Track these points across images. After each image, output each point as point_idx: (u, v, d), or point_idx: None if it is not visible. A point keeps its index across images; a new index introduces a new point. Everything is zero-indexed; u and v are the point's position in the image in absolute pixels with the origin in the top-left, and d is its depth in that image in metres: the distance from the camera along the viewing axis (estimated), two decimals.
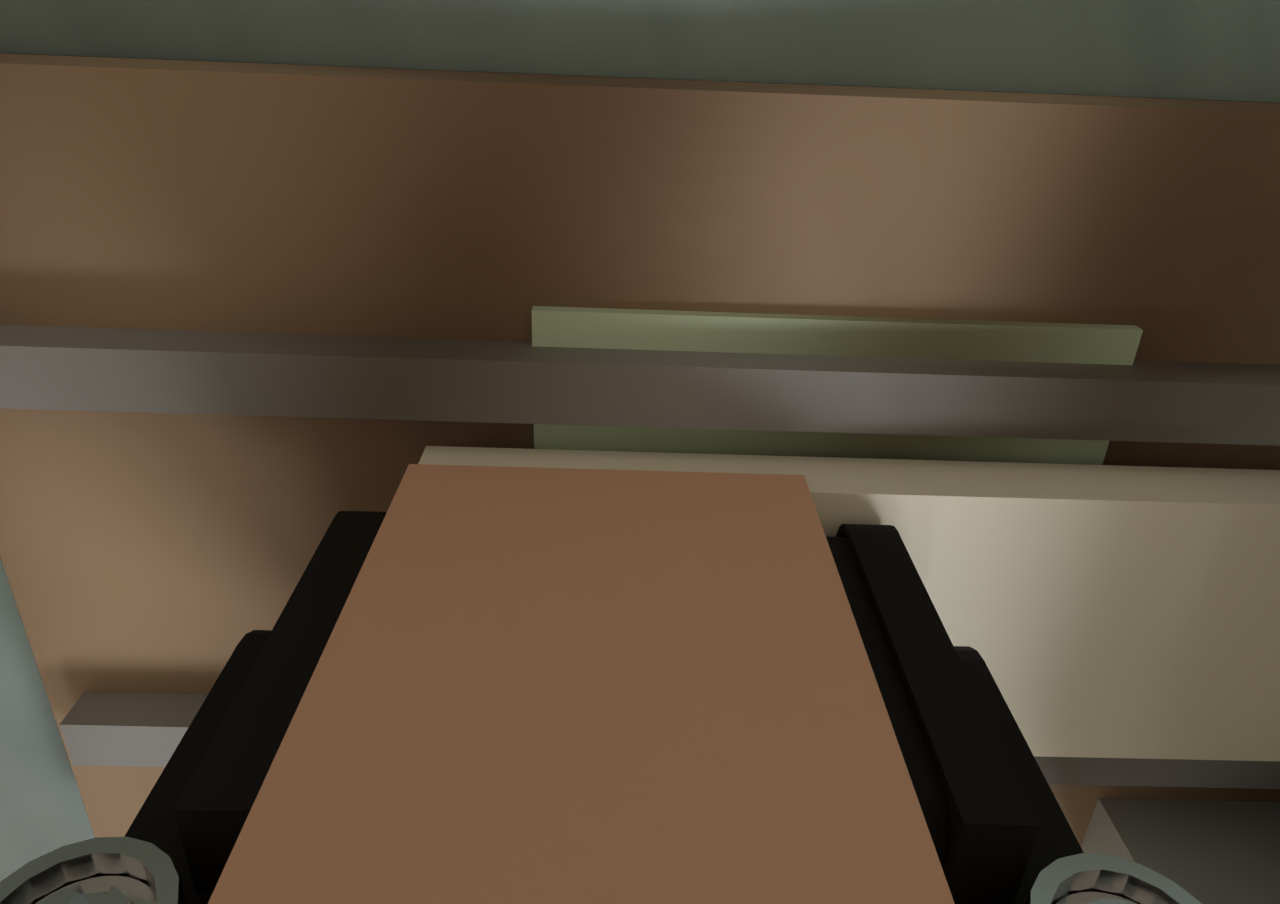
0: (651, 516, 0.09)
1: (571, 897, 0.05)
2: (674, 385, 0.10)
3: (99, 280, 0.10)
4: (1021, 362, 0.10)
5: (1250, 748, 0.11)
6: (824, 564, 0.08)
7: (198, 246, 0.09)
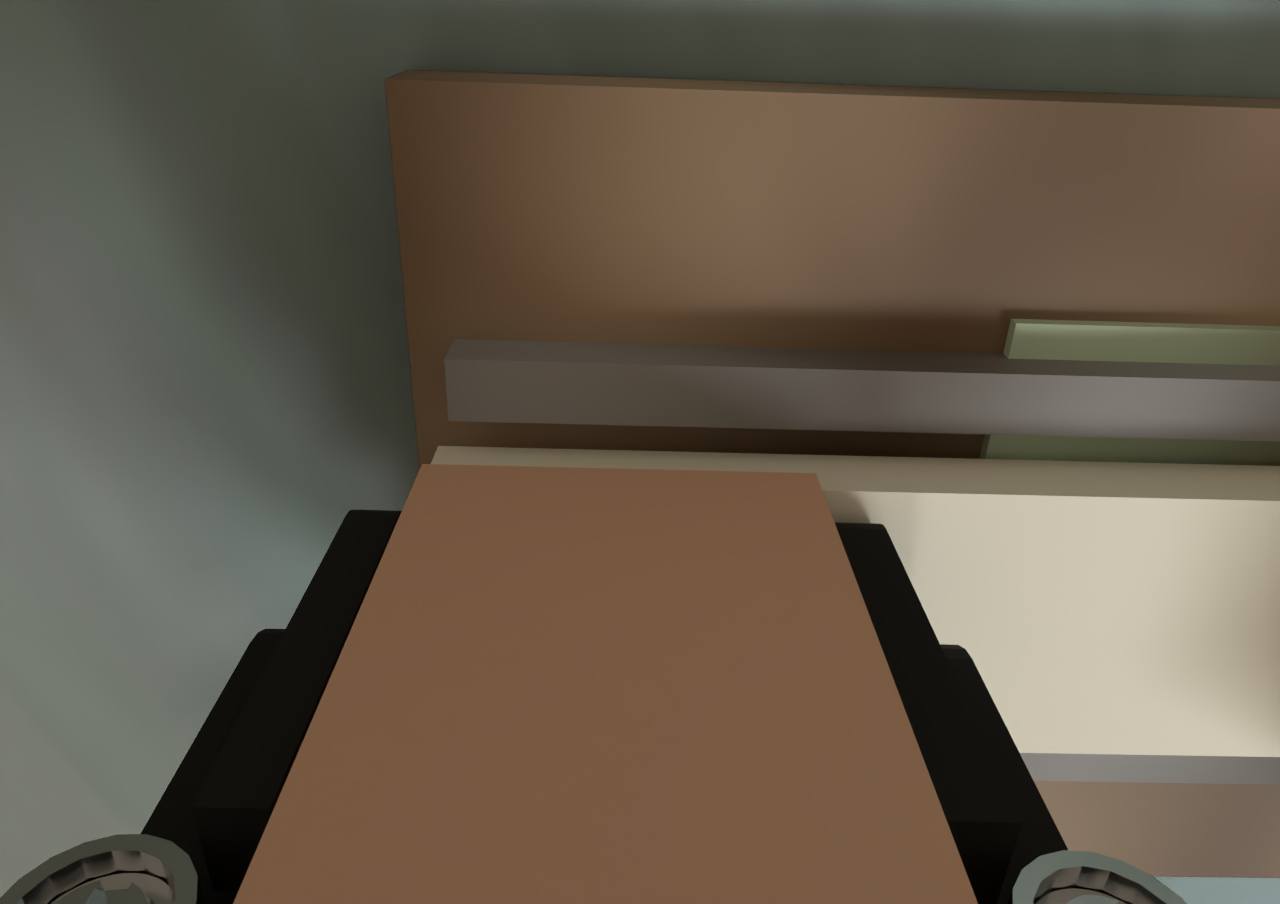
0: (664, 515, 0.09)
1: (594, 891, 0.05)
2: (1161, 396, 0.10)
3: (592, 295, 0.10)
4: None
5: (1261, 744, 0.11)
6: (838, 562, 0.08)
7: (697, 262, 0.10)
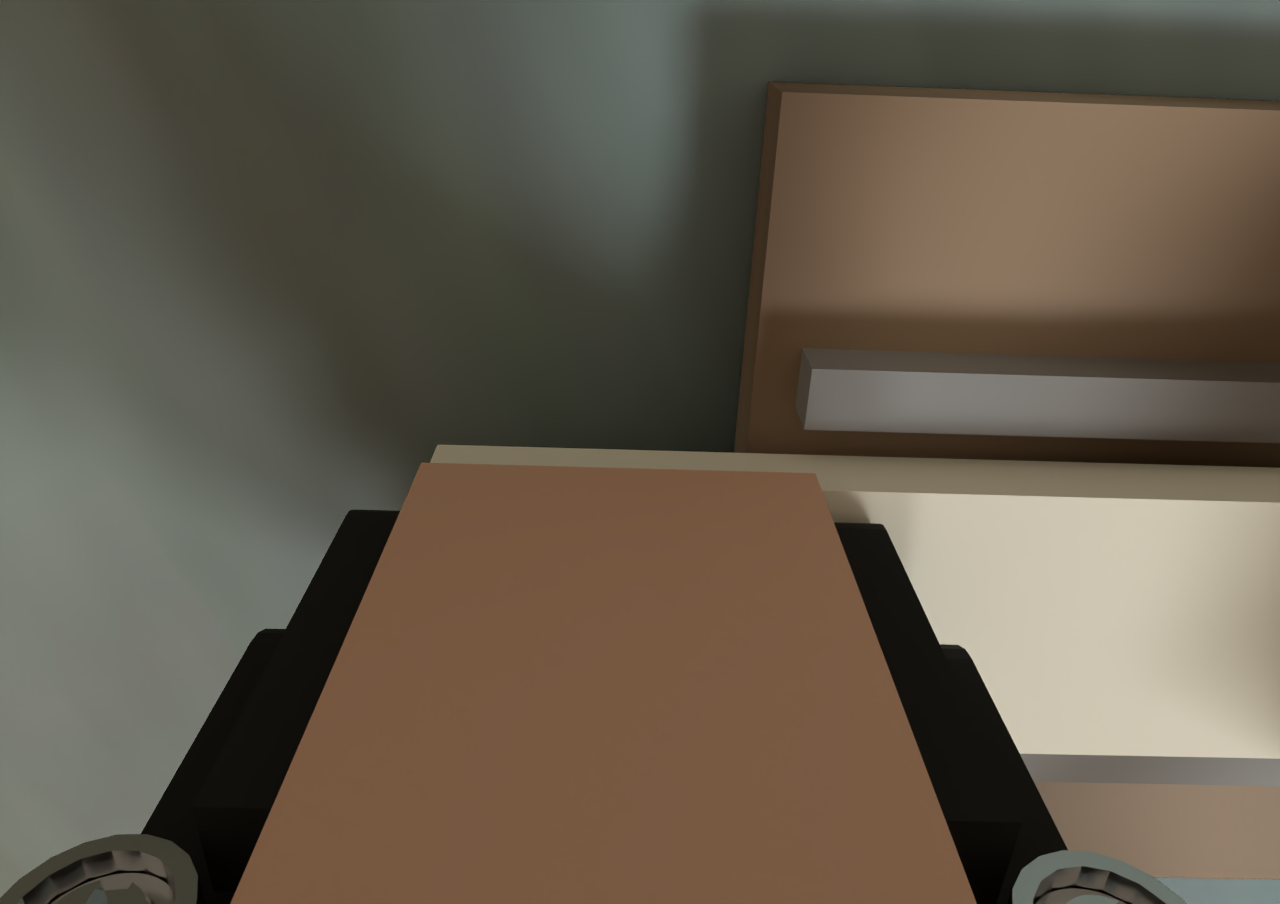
0: (664, 514, 0.09)
1: (592, 892, 0.05)
2: None
3: (946, 306, 0.10)
4: None
5: (1259, 746, 0.11)
6: (837, 562, 0.08)
7: (1057, 273, 0.10)
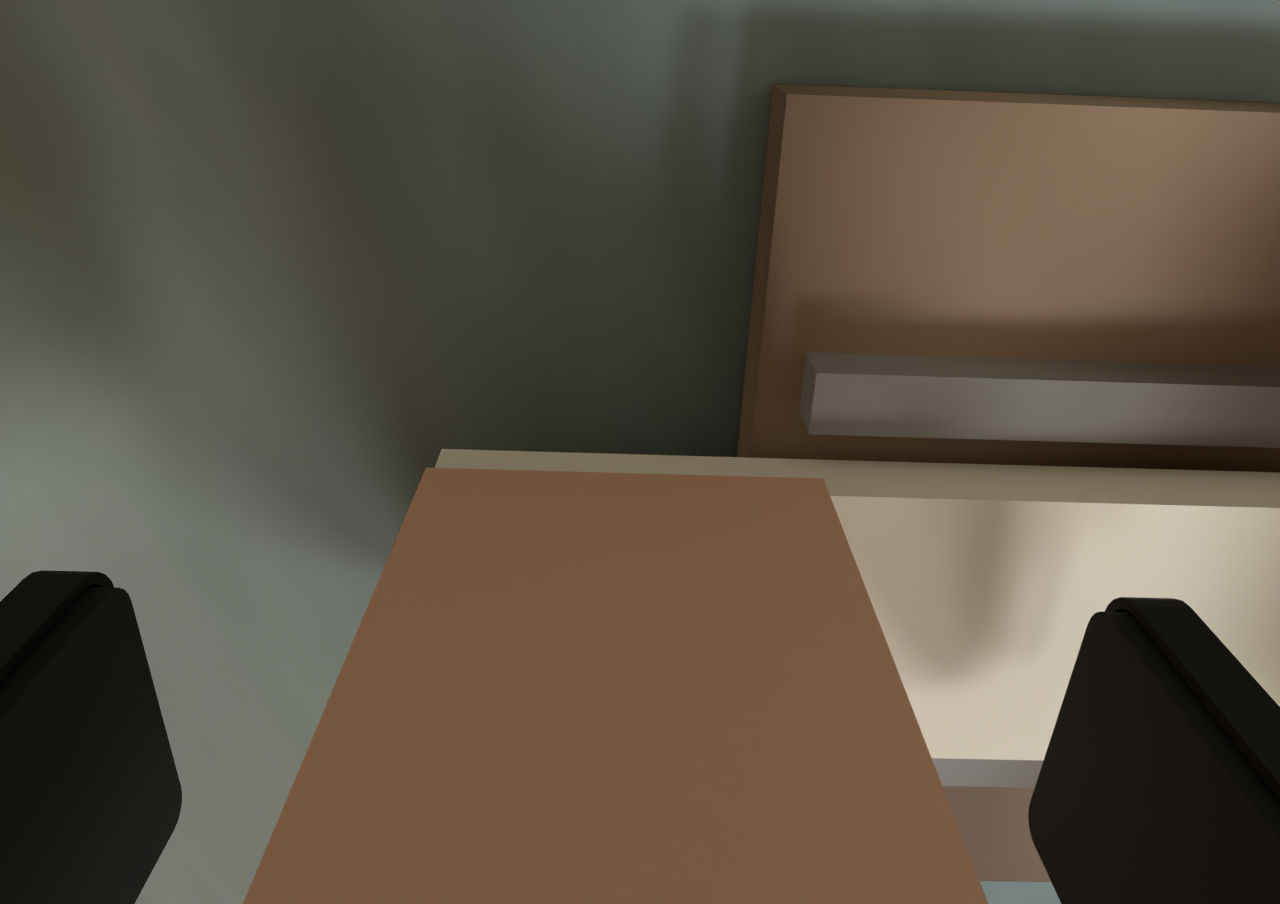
0: (671, 520, 0.08)
1: None
2: None
3: (951, 309, 0.10)
4: None
5: None
6: (847, 569, 0.08)
7: (1063, 276, 0.10)
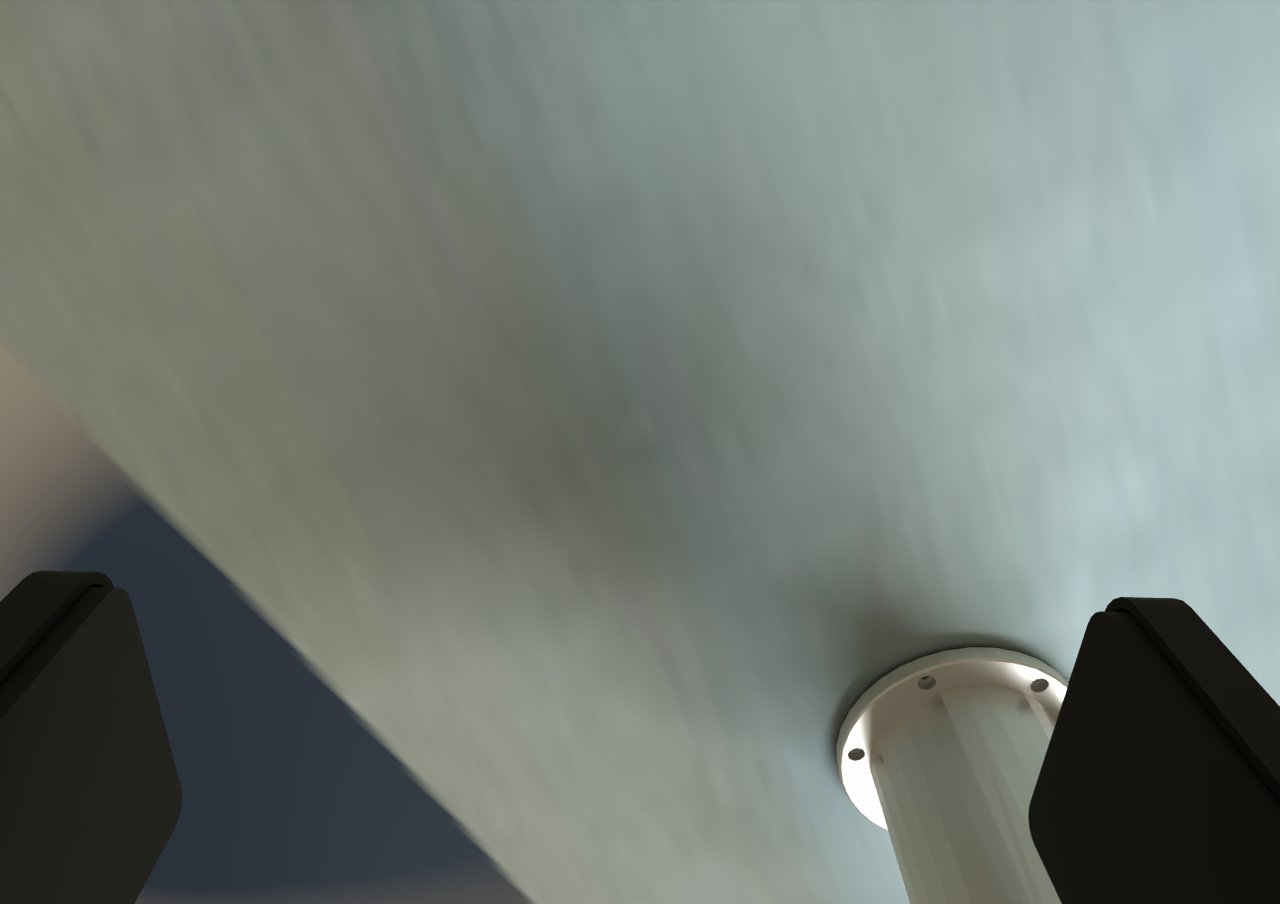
0: None
1: None
2: None
3: None
4: None
5: None
6: None
7: None
